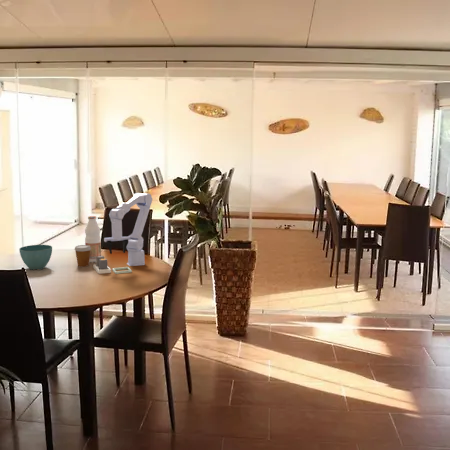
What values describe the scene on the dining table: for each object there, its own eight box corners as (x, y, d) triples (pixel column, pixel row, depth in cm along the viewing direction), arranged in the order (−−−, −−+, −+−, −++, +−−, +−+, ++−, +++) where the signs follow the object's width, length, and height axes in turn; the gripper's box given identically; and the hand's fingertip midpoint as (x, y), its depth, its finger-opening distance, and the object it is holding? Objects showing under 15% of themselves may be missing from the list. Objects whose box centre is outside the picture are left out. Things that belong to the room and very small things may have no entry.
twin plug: (103, 267, 331) (103, 255, 330) (104, 268, 328) (104, 256, 327) (96, 268, 330) (96, 256, 329) (97, 269, 326) (97, 257, 325)
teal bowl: (43, 272, 321) (42, 251, 319) (14, 271, 324) (12, 250, 322) (58, 265, 338) (57, 245, 336) (31, 263, 342) (29, 244, 340)
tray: (128, 269, 329) (127, 266, 328) (131, 273, 320) (131, 270, 320) (112, 270, 325) (112, 268, 325) (115, 274, 317) (115, 271, 317)
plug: (106, 270, 324) (105, 258, 323) (107, 272, 320) (107, 259, 319) (99, 271, 322) (98, 258, 321) (100, 272, 319) (100, 260, 318)
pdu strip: (105, 267, 334) (105, 263, 334) (110, 273, 319) (110, 269, 319) (93, 268, 331) (93, 264, 331) (98, 274, 317) (98, 270, 316)
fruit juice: (90, 263, 343) (88, 218, 339) (83, 260, 350) (81, 216, 346) (104, 261, 349) (102, 216, 345) (97, 258, 356) (95, 214, 352)
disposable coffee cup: (87, 268, 331) (86, 248, 329) (72, 267, 333) (71, 247, 331) (94, 264, 340) (93, 245, 339) (79, 264, 342) (78, 244, 340)
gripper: (105, 231, 318) (106, 255, 320) (131, 230, 323) (131, 253, 325) (103, 229, 324) (103, 253, 326) (128, 228, 330) (128, 251, 332)
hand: (117, 253), depth 326 cm, fingers open, 7 cm apart
